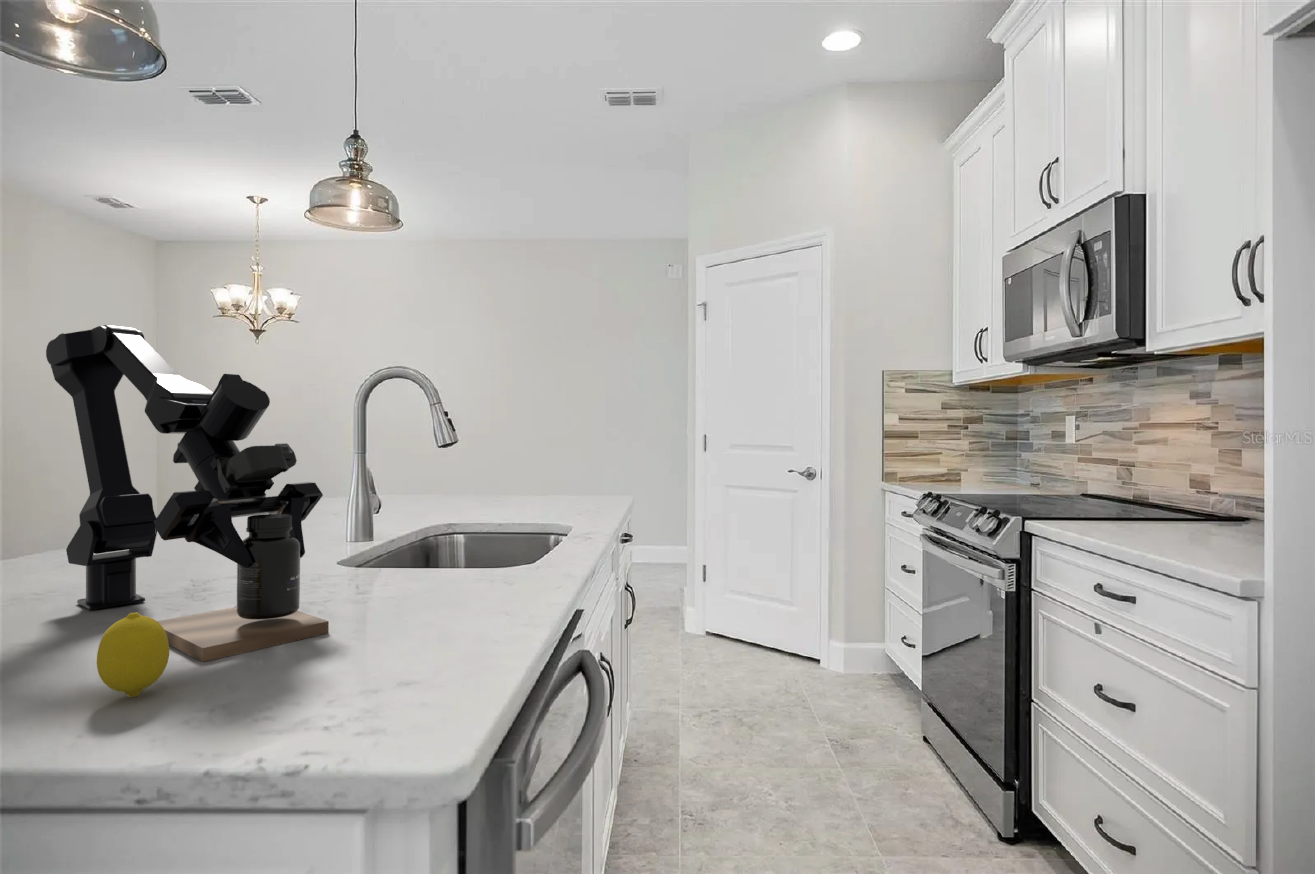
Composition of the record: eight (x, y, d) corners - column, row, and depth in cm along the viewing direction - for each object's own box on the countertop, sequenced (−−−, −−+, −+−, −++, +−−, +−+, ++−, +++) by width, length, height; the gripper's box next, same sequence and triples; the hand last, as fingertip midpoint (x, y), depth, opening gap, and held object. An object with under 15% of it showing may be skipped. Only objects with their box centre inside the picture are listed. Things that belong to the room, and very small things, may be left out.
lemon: (131, 710, 65) (131, 622, 65) (81, 705, 66) (80, 618, 66) (183, 688, 70) (183, 607, 70) (136, 684, 71) (135, 603, 71)
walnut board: (150, 634, 88) (149, 622, 88) (269, 611, 99) (269, 601, 99) (202, 662, 78) (202, 648, 78) (328, 633, 89) (328, 621, 89)
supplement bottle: (307, 614, 88) (308, 516, 88) (244, 624, 83) (244, 521, 83) (290, 603, 93) (291, 510, 93) (230, 612, 88) (231, 514, 88)
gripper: (170, 421, 81) (232, 527, 76) (314, 422, 98) (372, 509, 93) (129, 487, 84) (186, 592, 80) (274, 477, 101) (328, 563, 97)
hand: (276, 560), depth 87 cm, fingers closed on supplement bottle, 7 cm apart
